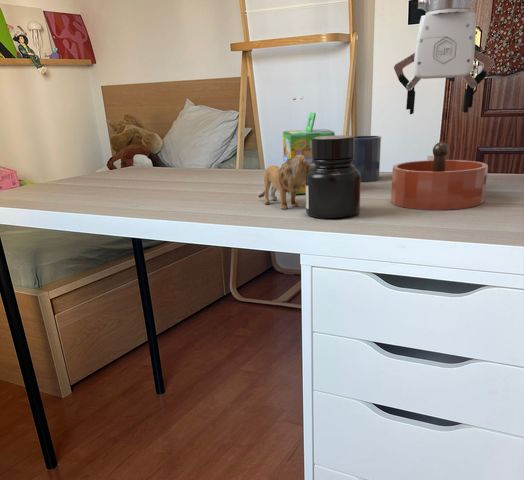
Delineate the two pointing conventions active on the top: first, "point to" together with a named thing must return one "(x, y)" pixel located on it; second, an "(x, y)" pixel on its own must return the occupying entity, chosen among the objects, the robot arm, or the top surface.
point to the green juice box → (302, 144)
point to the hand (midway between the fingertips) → (437, 113)
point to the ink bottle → (333, 178)
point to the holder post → (440, 156)
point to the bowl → (438, 185)
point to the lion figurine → (286, 179)
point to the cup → (367, 157)
